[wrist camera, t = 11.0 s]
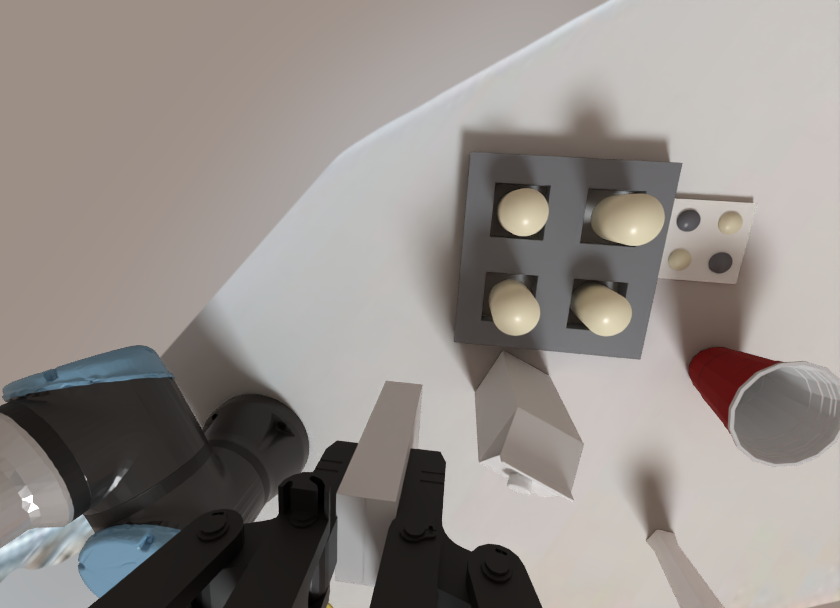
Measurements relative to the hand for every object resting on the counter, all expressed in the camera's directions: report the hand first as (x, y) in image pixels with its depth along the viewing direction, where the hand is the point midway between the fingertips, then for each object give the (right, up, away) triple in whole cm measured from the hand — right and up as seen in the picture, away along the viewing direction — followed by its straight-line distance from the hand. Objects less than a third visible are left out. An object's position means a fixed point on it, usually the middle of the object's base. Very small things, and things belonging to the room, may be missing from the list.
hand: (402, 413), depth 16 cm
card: (+33, +12, +29) cm, 45 cm away
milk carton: (+13, -6, +36) cm, 39 cm away
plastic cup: (+37, -3, +33) cm, 49 cm away
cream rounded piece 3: (+21, +5, +32) cm, 39 cm away
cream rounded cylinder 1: (+12, +15, +30) cm, 36 cm away
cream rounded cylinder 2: (+11, +5, +30) cm, 32 cm away
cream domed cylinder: (+22, +14, +27) cm, 37 cm away
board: (+17, +10, +31) cm, 37 cm away
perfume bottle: (+34, -28, +39) cm, 59 cm away
